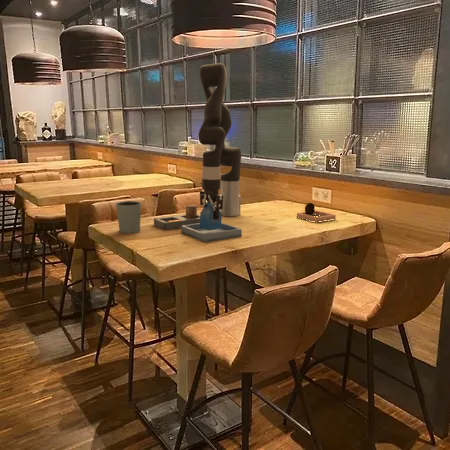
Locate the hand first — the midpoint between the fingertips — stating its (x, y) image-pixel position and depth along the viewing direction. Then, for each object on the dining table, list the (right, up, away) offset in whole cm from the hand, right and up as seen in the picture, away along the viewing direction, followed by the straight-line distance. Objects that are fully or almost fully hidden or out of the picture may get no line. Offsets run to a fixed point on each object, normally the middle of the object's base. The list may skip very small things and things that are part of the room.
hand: (211, 217), depth 190 cm
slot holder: (-14, -3, +18) cm, 23 cm away
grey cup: (-35, -6, +5) cm, 35 cm away
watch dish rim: (+50, 0, +34) cm, 60 cm away
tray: (0, -7, +2) cm, 7 cm away
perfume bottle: (0, -4, +1) cm, 5 cm away
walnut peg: (-10, -2, +21) cm, 23 cm away
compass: (+50, 0, +37) cm, 62 cm away
